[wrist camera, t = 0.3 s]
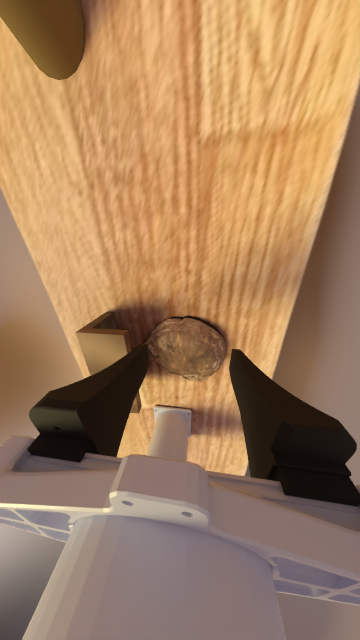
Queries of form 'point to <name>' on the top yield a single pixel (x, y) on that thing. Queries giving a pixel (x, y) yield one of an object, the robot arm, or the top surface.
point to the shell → (187, 347)
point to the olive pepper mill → (48, 32)
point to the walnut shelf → (105, 346)
